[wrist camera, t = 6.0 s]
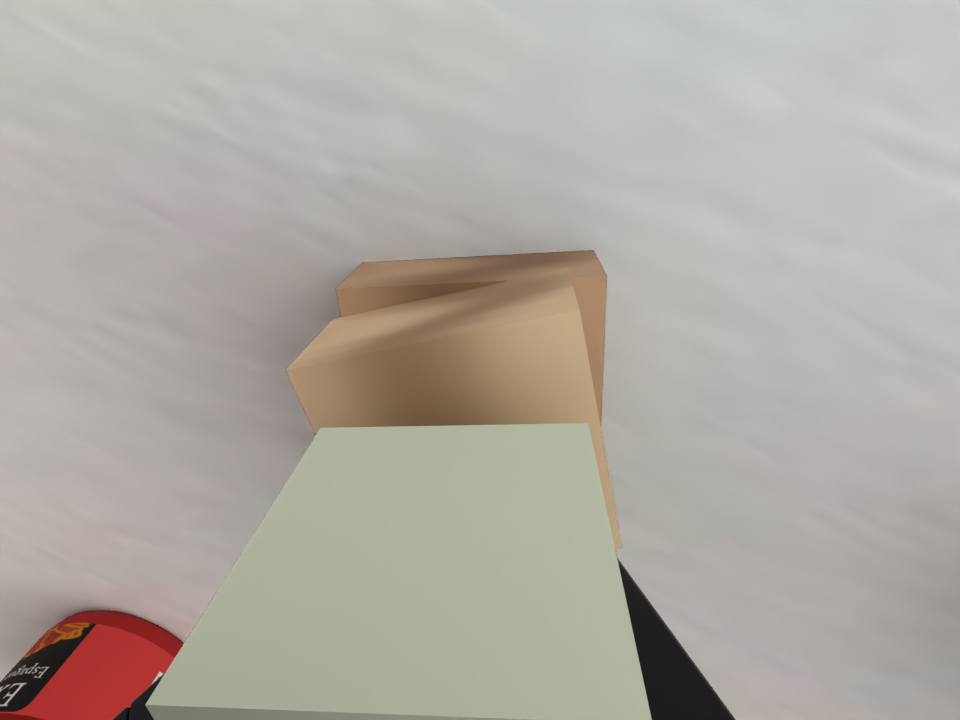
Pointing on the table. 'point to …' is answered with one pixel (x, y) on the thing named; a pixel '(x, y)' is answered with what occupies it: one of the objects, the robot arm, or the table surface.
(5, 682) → the canned food
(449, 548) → the cube
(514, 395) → the tower top
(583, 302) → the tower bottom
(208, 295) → the table surface
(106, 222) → the table surface
